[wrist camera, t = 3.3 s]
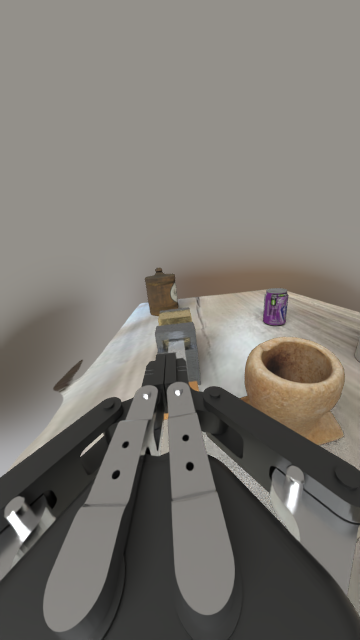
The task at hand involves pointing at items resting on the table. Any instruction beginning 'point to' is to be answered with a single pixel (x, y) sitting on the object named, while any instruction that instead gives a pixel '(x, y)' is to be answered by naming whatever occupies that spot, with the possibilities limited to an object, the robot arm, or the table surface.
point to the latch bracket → (175, 327)
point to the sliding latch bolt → (179, 348)
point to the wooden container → (161, 292)
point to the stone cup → (296, 386)
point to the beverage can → (275, 306)
